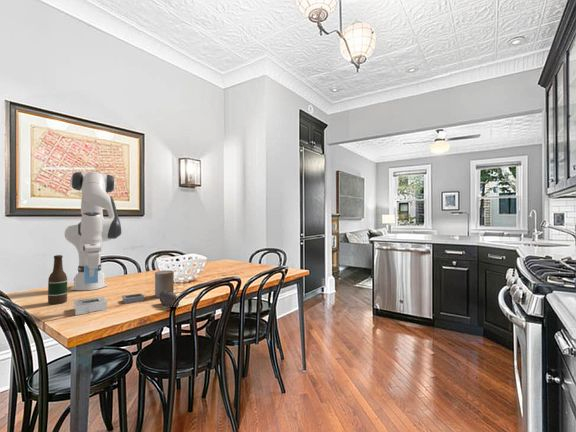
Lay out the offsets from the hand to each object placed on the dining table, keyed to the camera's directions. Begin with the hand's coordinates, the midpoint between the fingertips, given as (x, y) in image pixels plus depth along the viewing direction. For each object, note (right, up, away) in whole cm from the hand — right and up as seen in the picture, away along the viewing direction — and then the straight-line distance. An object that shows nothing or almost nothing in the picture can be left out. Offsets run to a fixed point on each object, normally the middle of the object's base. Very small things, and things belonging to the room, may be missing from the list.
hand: (90, 275), depth 144 cm
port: (0, -16, 0) cm, 16 cm away
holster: (+13, -16, +14) cm, 25 cm away
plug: (0, -3, 0) cm, 3 cm away
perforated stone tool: (+35, -17, +7) cm, 39 cm away
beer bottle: (-24, -16, +11) cm, 31 cm away
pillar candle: (+24, -17, +25) cm, 39 cm away
